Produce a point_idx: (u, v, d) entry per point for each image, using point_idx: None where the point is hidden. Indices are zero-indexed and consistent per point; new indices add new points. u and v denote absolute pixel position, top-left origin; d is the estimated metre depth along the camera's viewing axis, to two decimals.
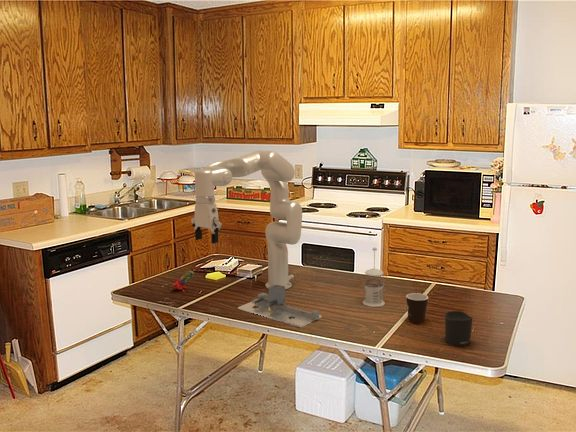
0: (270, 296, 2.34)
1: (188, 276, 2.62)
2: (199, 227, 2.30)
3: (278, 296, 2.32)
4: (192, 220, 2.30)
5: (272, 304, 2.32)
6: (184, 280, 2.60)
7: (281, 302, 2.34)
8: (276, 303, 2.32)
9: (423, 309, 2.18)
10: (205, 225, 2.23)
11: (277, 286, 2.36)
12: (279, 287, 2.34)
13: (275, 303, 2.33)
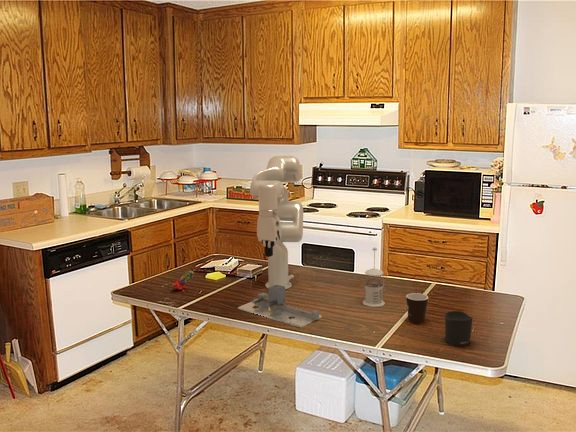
0: (270, 296, 2.34)
1: (188, 276, 2.62)
2: (267, 243, 2.33)
3: (278, 296, 2.32)
4: (259, 239, 2.33)
5: (272, 304, 2.32)
6: (184, 280, 2.60)
7: (281, 302, 2.34)
8: (276, 303, 2.32)
9: (423, 309, 2.18)
10: (268, 238, 2.28)
11: (277, 286, 2.36)
12: (279, 287, 2.34)
13: (275, 303, 2.33)
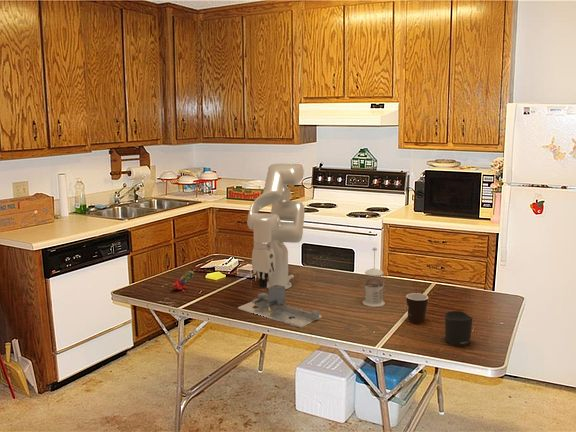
0: (270, 296, 2.34)
1: (188, 276, 2.62)
2: (262, 274, 2.39)
3: (278, 296, 2.32)
4: (254, 270, 2.40)
5: (272, 304, 2.32)
6: (184, 280, 2.60)
7: (281, 302, 2.34)
8: (276, 303, 2.32)
9: (423, 309, 2.18)
10: (262, 270, 2.34)
11: (277, 286, 2.36)
12: (279, 287, 2.34)
13: (275, 303, 2.33)
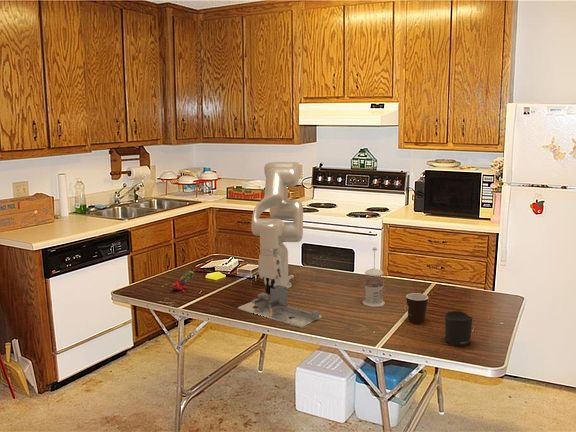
0: (272, 296, 2.33)
1: (188, 276, 2.62)
2: (268, 280, 2.38)
3: (280, 296, 2.31)
4: (261, 276, 2.38)
5: (274, 304, 2.31)
6: (184, 280, 2.60)
7: (283, 302, 2.33)
8: (278, 303, 2.32)
9: (423, 309, 2.18)
10: (269, 276, 2.33)
11: (278, 286, 2.35)
12: (281, 287, 2.33)
13: (277, 303, 2.32)
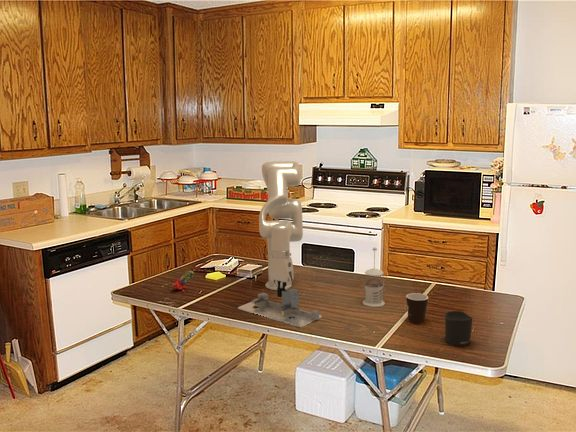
0: (283, 300, 2.29)
1: (188, 276, 2.62)
2: (280, 283, 2.34)
3: (292, 300, 2.27)
4: (272, 279, 2.34)
5: (286, 308, 2.27)
6: (184, 280, 2.60)
7: (295, 306, 2.29)
8: (290, 307, 2.28)
9: (423, 309, 2.18)
10: (281, 278, 2.29)
11: (290, 289, 2.31)
12: (293, 290, 2.29)
13: (289, 307, 2.28)
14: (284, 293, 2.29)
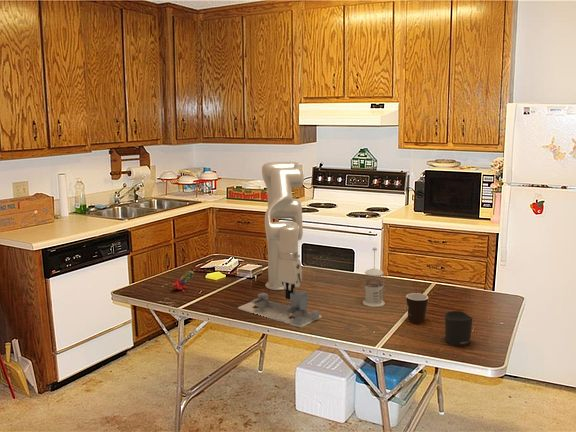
0: (292, 302, 2.27)
1: (188, 276, 2.62)
2: None
3: (300, 302, 2.25)
4: (280, 280, 2.32)
5: (294, 310, 2.25)
6: (184, 280, 2.60)
7: (303, 308, 2.26)
8: (298, 309, 2.25)
9: (423, 309, 2.18)
10: (289, 280, 2.26)
11: (298, 291, 2.28)
12: (301, 293, 2.26)
13: (297, 309, 2.25)
14: (292, 295, 2.26)
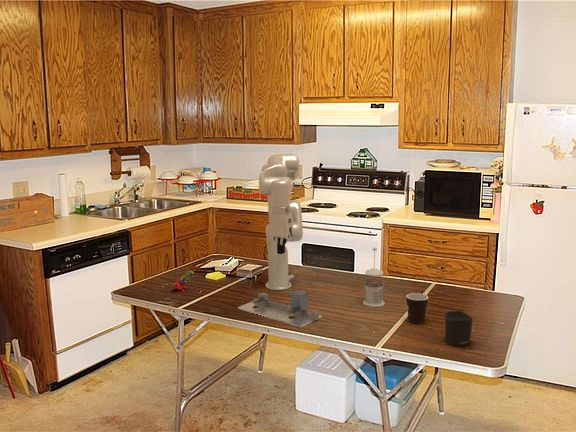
0: (292, 302, 2.26)
1: (188, 276, 2.62)
2: (280, 240, 2.31)
3: (301, 302, 2.24)
4: (271, 236, 2.31)
5: (294, 310, 2.24)
6: (184, 280, 2.60)
7: (304, 308, 2.26)
8: (299, 309, 2.25)
9: (423, 309, 2.18)
10: (281, 235, 2.26)
11: (299, 291, 2.28)
12: (302, 293, 2.26)
13: (298, 309, 2.25)
14: (293, 295, 2.26)
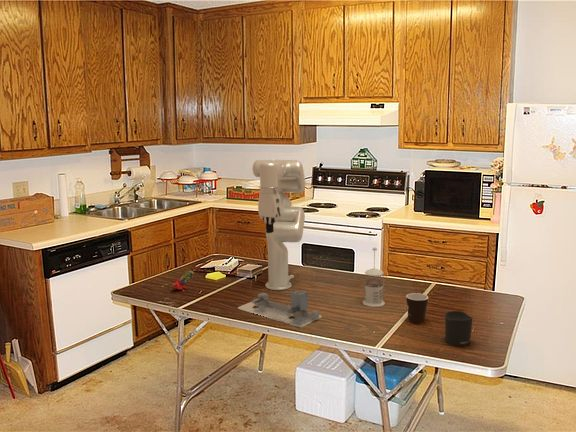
0: (292, 302, 2.26)
1: (188, 276, 2.62)
2: (268, 220, 2.43)
3: (301, 302, 2.24)
4: (261, 216, 2.43)
5: (294, 310, 2.24)
6: (184, 280, 2.60)
7: (304, 308, 2.26)
8: (299, 309, 2.25)
9: (423, 309, 2.18)
10: (269, 214, 2.38)
11: (299, 291, 2.28)
12: (302, 293, 2.26)
13: (298, 309, 2.25)
14: (293, 295, 2.26)
